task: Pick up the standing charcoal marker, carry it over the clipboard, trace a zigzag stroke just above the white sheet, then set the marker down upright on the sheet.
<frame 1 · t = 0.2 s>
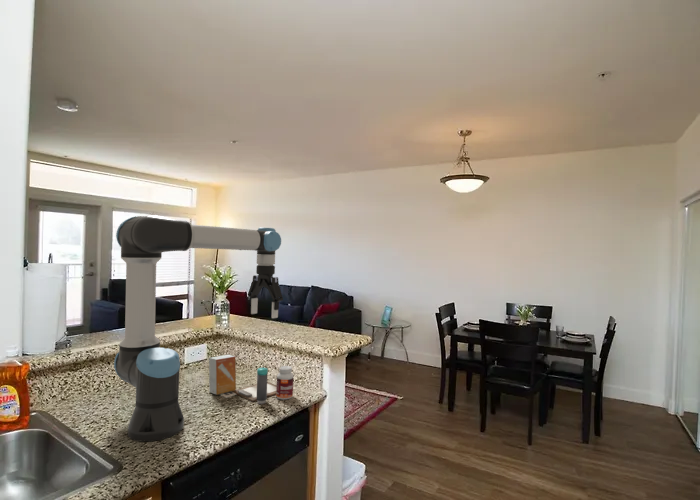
hand: (264, 315, 164), 27 cm above the counter, fingers open, 13 cm apart
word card: (230, 393, 149), on the counter
clipboard: (259, 391, 152), on the counter
pill bottle: (284, 397, 148), on the counter
small box: (222, 391, 151), on the counter, touching clipboard
marker: (261, 402, 142), on the counter
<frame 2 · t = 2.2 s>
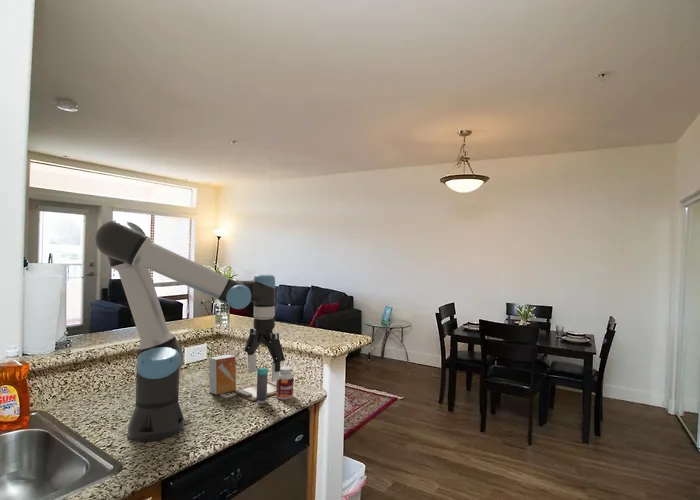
hand: (263, 376, 142), 9 cm above the counter, fingers open, 13 cm apart
nothing on the counter moved.
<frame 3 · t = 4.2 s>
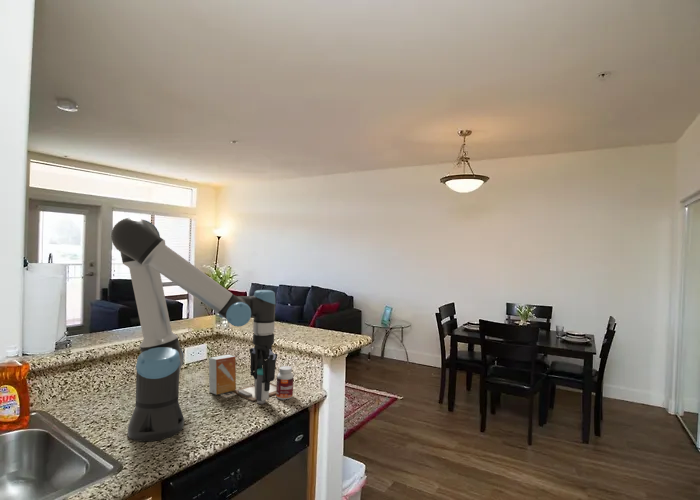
hand: (261, 397, 142), 2 cm above the counter, fingers closed on marker, 3 cm apart
marker: (261, 402, 142), on the counter, touching gripper
everything else where it was.
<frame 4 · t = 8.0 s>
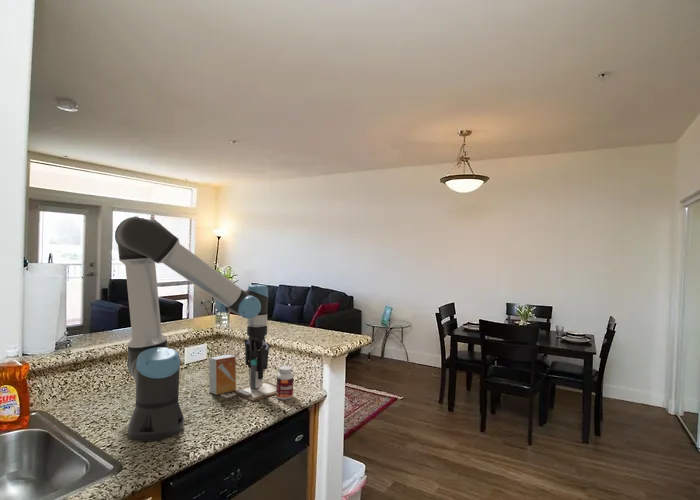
hand: (255, 385, 151), 3 cm above the counter, fingers closed on marker, 3 cm apart
marker: (254, 391, 151), point 1 cm above the counter, touching gripper
everything else where it was.
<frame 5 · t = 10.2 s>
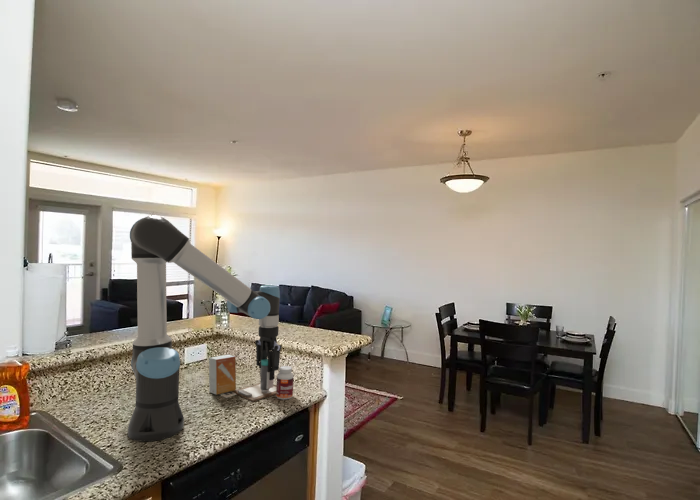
hand: (266, 386, 151), 2 cm above the counter, fingers closed on marker, 3 cm apart
marker: (265, 391, 151), point 1 cm above the counter, touching clipboard, gripper
everything else where it was.
when the fingers open (3 cm above the counter, at t = 12.1 s): marker stays where it is, resting on clipboard.
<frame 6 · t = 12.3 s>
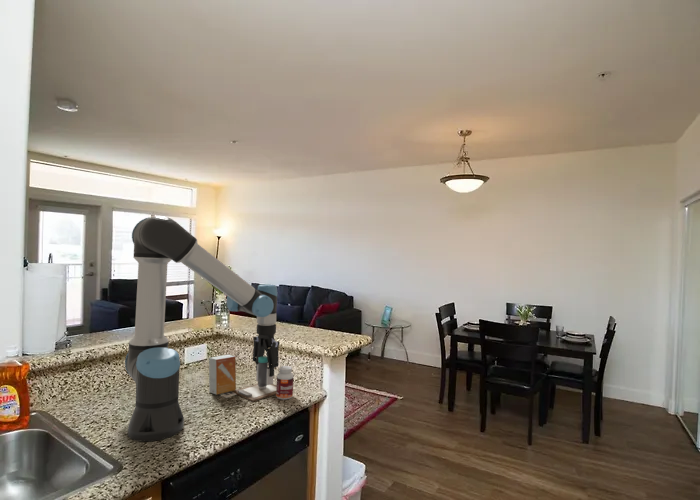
hand: (264, 382, 155), 3 cm above the counter, fingers open, 6 cm apart
marker: (262, 388, 154), point 1 cm above the counter, touching clipboard
everything else where it was.
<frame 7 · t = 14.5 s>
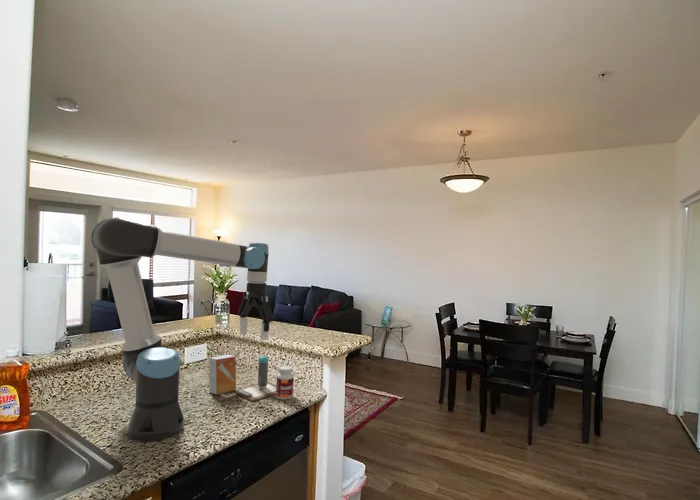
hand: (253, 336, 153), 21 cm above the counter, fingers open, 13 cm apart
nothing on the counter moved.
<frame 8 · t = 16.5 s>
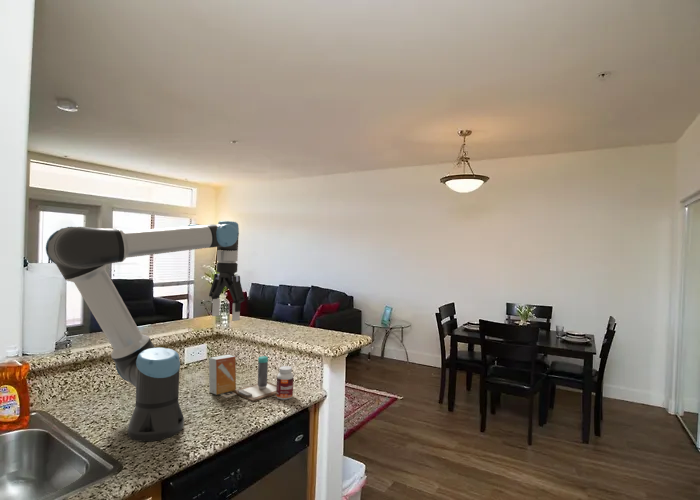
hand: (225, 318, 149), 29 cm above the counter, fingers open, 13 cm apart
nothing on the counter moved.
at the end: marker inside the target area on the clipboard (2.1 cm from its centre), point 0.7 cm above the clipboard's base; marker tilted 0°; the gripper is holding nothing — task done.
